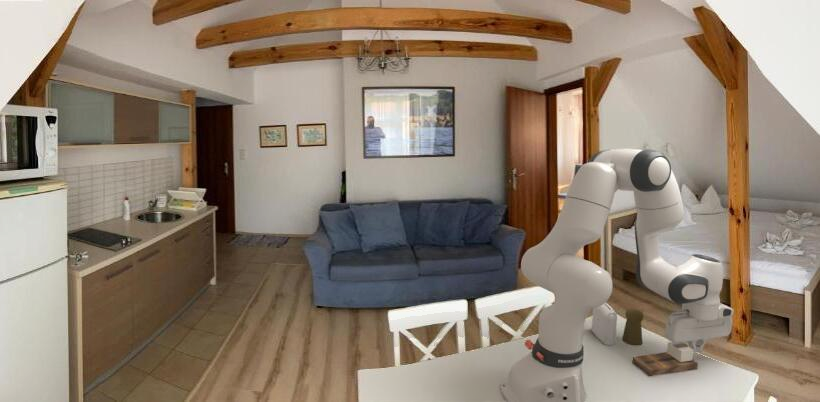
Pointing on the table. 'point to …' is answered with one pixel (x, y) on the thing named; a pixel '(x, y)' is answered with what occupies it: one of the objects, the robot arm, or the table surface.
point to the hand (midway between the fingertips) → (695, 351)
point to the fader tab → (680, 351)
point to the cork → (633, 327)
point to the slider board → (662, 364)
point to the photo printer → (605, 324)
